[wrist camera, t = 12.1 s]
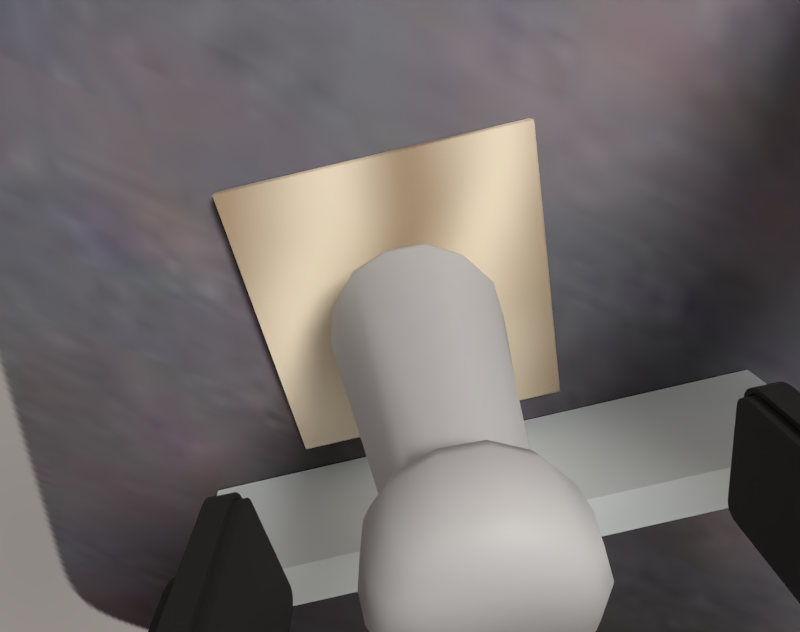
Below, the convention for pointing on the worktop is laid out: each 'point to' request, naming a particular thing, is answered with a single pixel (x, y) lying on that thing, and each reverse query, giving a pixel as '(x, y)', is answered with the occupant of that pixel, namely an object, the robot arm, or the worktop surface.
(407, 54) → the worktop surface
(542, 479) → the salt shaker
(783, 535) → the robot arm
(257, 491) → the acrylic wall
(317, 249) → the coaster board
